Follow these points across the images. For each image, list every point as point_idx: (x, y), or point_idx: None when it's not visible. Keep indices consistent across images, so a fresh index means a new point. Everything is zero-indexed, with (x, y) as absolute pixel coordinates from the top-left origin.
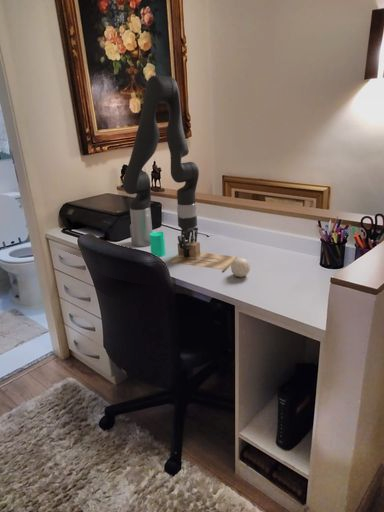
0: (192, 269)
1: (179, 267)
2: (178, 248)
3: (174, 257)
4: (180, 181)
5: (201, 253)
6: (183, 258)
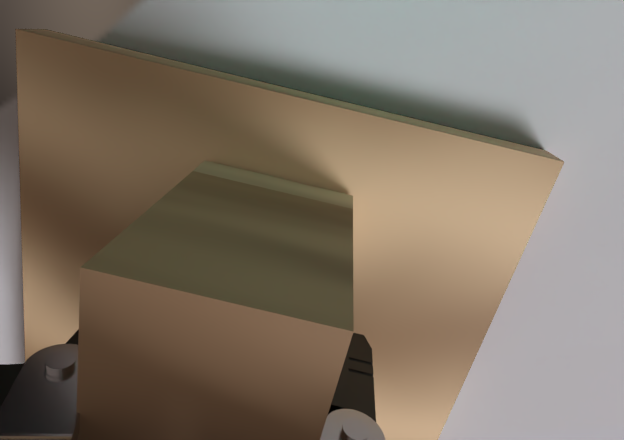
0: (14, 351)
1: (11, 211)
2: (139, 228)
3: (209, 89)
4: None
5: (411, 412)
6: None
